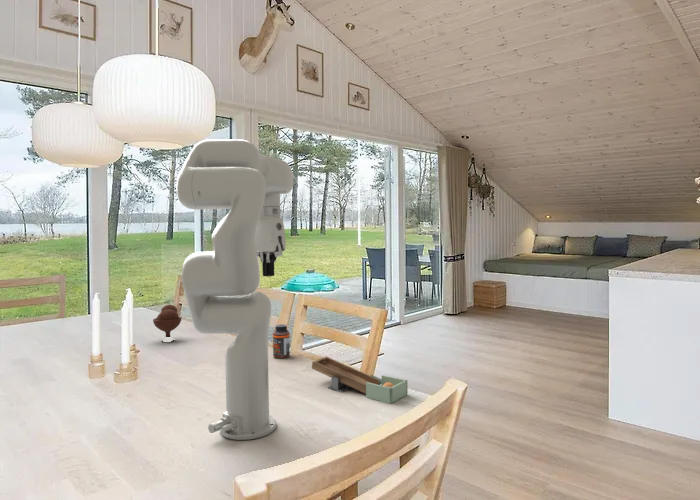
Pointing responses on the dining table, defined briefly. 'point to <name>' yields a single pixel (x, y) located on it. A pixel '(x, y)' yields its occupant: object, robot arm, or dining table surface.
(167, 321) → the ice cream bowl
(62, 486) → the dining table surface
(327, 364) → the lever
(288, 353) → the supplement bottle
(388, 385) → the ball
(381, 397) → the tray
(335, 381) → the fulcrum
